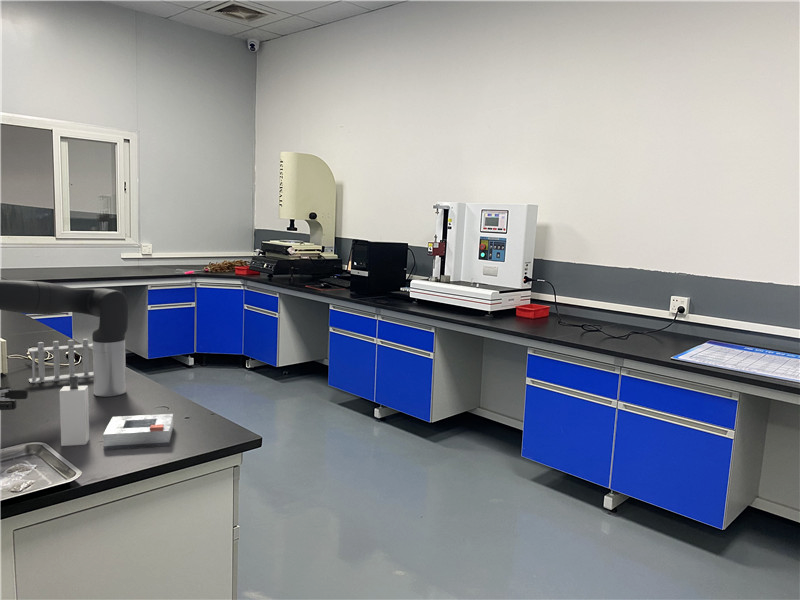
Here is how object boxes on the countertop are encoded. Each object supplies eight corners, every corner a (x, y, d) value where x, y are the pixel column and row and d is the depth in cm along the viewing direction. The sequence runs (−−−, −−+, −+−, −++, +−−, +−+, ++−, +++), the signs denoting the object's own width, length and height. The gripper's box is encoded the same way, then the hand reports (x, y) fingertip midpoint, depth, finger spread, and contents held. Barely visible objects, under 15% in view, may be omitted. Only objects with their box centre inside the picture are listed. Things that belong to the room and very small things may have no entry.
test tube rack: (110, 372, 213) (109, 336, 211) (113, 375, 210) (112, 338, 208) (28, 381, 198) (27, 342, 196) (30, 384, 195) (28, 344, 193)
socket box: (112, 431, 157) (112, 413, 157) (173, 427, 162) (173, 411, 161) (103, 450, 145) (103, 431, 145) (169, 446, 149) (168, 427, 149)
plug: (65, 439, 150) (63, 374, 148) (89, 438, 152) (87, 373, 150) (61, 445, 146) (59, 379, 144) (86, 444, 148) (84, 378, 146)
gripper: (-72, 394, 132) (11, 392, 137) (-45, 377, 146) (30, 376, 150) (-71, 427, 133) (12, 423, 138) (-44, 407, 147) (31, 405, 151)
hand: (21, 399), depth 144 cm, fingers open, 8 cm apart
